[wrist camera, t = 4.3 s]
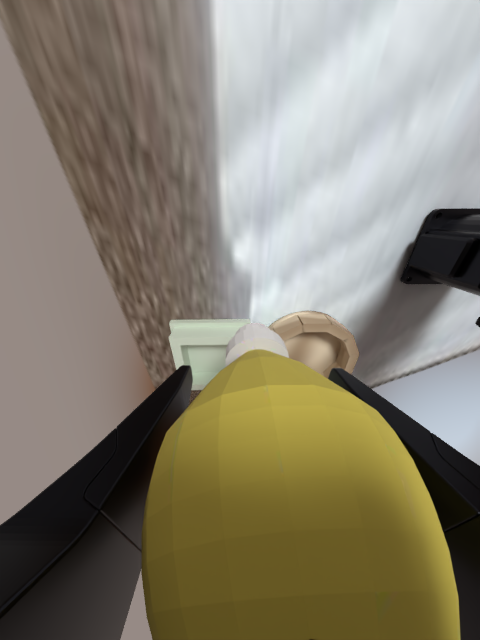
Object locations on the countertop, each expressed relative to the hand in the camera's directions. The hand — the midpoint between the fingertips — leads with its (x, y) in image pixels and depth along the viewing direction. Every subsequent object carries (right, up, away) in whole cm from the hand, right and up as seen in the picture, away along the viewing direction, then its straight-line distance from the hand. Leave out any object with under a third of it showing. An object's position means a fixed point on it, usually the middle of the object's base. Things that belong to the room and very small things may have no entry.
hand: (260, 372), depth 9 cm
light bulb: (0, +1, +2) cm, 3 cm away
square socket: (-4, -1, +15) cm, 15 cm away
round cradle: (+7, -1, +15) cm, 16 cm away
